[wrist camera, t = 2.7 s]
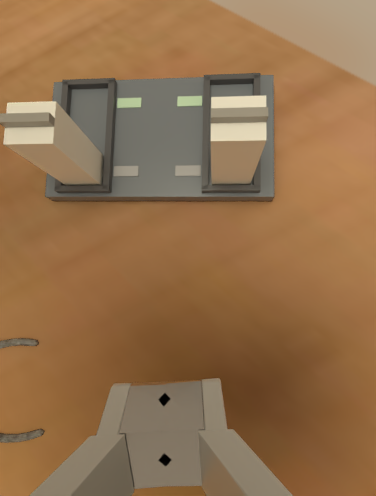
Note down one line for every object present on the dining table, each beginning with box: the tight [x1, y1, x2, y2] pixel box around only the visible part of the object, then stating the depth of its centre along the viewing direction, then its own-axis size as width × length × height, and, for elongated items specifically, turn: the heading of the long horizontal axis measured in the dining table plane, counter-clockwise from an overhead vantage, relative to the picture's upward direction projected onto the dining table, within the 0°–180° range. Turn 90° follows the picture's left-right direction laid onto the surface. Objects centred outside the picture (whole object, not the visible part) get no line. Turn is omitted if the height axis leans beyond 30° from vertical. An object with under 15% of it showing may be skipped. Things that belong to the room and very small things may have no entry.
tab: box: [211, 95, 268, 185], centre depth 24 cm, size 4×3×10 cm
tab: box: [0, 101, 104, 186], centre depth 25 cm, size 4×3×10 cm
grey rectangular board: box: [45, 73, 274, 201], centre depth 30 cm, size 22×12×2 cm, turn 89°
